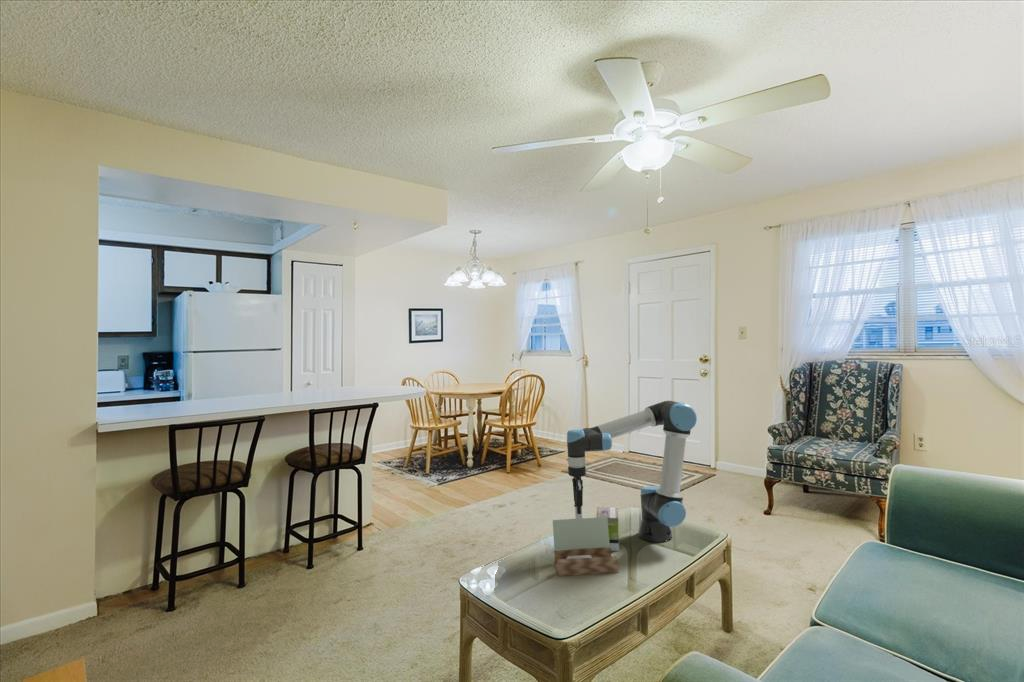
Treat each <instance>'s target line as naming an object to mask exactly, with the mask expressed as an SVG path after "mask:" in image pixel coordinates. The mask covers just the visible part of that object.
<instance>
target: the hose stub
mask: <svg viewBox="0 0 1024 682" xmlns="http://www.w3.org/2000/svg"><path fill="white" fill-rule="evenodd" d="M577 558H592V557H591V556H590V555H578V556H568V557H567V558H566V559H577Z"/></svg>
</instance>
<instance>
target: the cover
mask: <svg viewBox="0 0 1024 682" xmlns="http://www.w3.org/2000/svg"><path fill="white" fill-rule="evenodd" d="M552 529H553V530H552V532H553V547H554V548H553V551H555V550H571V549H588V548H601V547H610V543H609V531H608V519H607V517H598V518H596V517H582V518H580V519H575V518H566V519H563V518H561V519H552Z"/></svg>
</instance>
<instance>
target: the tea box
mask: <svg viewBox="0 0 1024 682" xmlns="http://www.w3.org/2000/svg"><path fill="white" fill-rule="evenodd" d="M598 517H607V519H608V531H609V543H610V548H611V552H619V551H620V527H619V526H620V522H619V520H620V519H619V508H618V507H607V506H606V507H603V506H602V507H601V506H599V507H597V509H596V517H595V518H598ZM601 548H605V547H601Z"/></svg>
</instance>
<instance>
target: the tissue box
mask: <svg viewBox="0 0 1024 682" xmlns="http://www.w3.org/2000/svg"><path fill="white" fill-rule="evenodd" d="M553 552H554V554H553V555H554V565H555V568H556V572H557V575H558V576H559V577H565V576H566V577H567V576H569V577H570V576H582V575H583V576H584V575H585V576H586V575H597V574H598V575H599V574H613V573H614V574H615V573H619V559H618V557H617V556H616V555H613V556H612V551H611V548H610V547H605V548H584V549H567V550H553ZM578 555H590V556H591V557H592V558H577V559H566V558H567V557H568V556H578Z"/></svg>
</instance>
